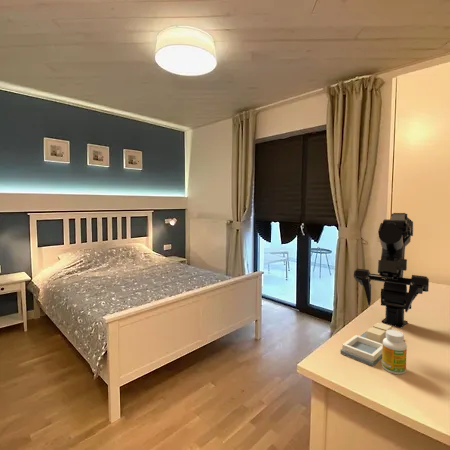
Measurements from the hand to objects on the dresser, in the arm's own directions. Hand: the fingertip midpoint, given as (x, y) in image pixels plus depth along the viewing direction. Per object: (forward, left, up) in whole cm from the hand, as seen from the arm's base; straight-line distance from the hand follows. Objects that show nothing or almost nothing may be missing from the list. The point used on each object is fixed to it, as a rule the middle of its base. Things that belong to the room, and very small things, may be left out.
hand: (386, 308), depth 81 cm
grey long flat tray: (-2, -4, -13) cm, 14 cm away
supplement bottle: (+6, +4, -13) cm, 16 cm away
